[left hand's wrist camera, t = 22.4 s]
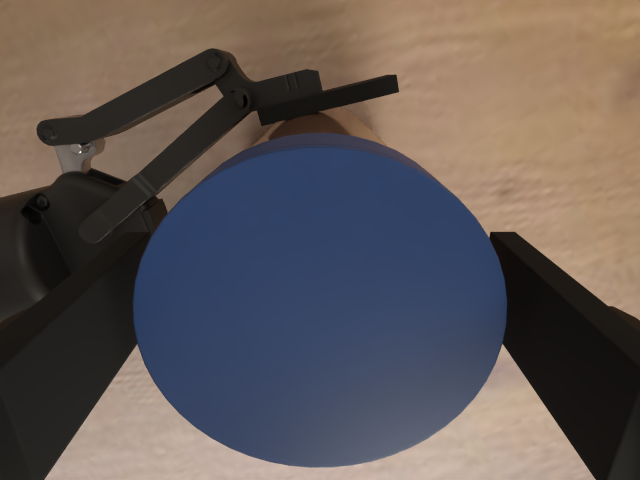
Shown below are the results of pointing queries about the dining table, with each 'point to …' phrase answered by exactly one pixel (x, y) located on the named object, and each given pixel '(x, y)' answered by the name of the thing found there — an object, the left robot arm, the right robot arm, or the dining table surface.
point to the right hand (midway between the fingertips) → (407, 174)
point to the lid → (319, 303)
